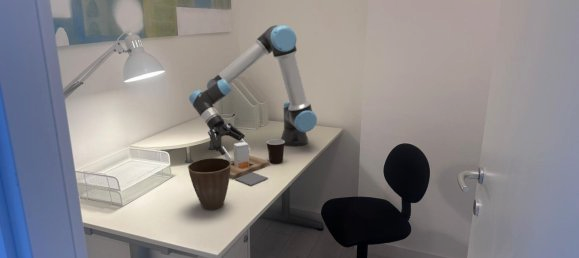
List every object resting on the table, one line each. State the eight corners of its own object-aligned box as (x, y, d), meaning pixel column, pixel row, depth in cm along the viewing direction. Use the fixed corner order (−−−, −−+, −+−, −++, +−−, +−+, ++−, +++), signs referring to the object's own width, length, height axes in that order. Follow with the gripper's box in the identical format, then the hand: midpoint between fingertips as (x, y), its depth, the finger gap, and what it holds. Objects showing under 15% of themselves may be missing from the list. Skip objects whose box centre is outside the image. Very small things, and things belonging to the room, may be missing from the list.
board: (249, 158, 189) (249, 155, 188) (269, 165, 180) (269, 161, 179) (213, 171, 173) (213, 167, 173) (233, 179, 164) (233, 175, 164)
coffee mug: (282, 165, 180) (282, 145, 177) (265, 164, 182) (264, 144, 179) (287, 157, 191) (287, 137, 188) (271, 156, 192) (270, 137, 190)
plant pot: (195, 218, 131) (191, 175, 127) (188, 201, 144) (184, 161, 140) (237, 210, 137) (235, 168, 133) (227, 194, 150) (224, 155, 146)
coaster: (252, 173, 171) (252, 172, 170) (268, 179, 164) (268, 177, 164) (235, 180, 163) (234, 178, 163) (250, 186, 157) (250, 184, 157)
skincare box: (237, 171, 173) (236, 146, 170) (234, 168, 177) (232, 143, 174) (249, 168, 176) (248, 144, 173) (246, 165, 180) (245, 141, 176)
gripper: (226, 118, 191) (251, 152, 187) (189, 130, 170) (216, 168, 167) (234, 109, 186) (260, 143, 183) (197, 120, 166) (225, 158, 162)
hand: (239, 155), depth 175 cm, fingers open, 13 cm apart
